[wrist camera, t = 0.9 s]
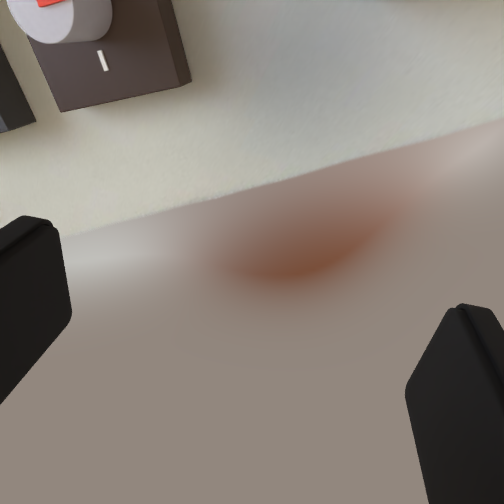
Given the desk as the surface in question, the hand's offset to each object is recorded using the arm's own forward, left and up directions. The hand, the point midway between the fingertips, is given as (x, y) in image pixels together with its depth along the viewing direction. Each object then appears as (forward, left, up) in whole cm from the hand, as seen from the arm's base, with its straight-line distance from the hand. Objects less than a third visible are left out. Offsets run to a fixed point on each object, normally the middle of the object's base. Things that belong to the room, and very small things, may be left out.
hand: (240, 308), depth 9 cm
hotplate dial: (-10, -14, -23) cm, 29 cm away
